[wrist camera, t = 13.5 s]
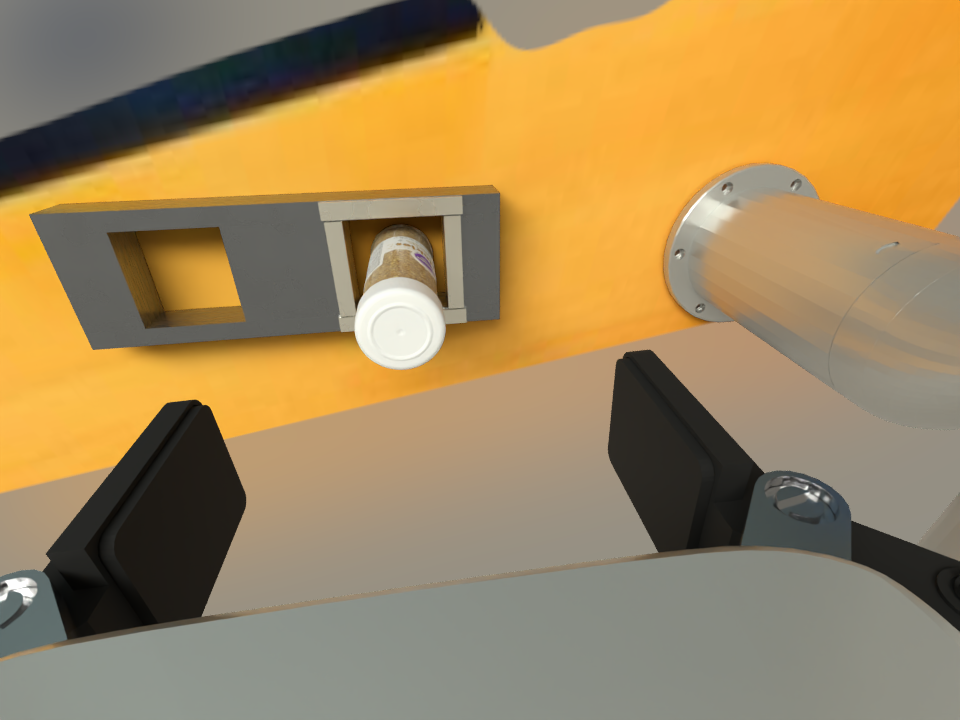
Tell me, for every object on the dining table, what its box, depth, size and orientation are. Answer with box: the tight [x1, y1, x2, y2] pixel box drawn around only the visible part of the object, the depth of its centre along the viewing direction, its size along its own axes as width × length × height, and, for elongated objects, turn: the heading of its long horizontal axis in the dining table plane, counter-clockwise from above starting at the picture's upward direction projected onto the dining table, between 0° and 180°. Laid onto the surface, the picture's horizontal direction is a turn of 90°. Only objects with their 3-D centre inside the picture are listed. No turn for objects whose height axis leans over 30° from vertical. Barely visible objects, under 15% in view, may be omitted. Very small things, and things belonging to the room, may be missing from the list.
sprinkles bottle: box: [354, 224, 446, 370], centre depth 29 cm, size 5×5×14 cm
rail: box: [29, 185, 500, 350], centre depth 33 cm, size 28×9×3 cm, turn 91°
